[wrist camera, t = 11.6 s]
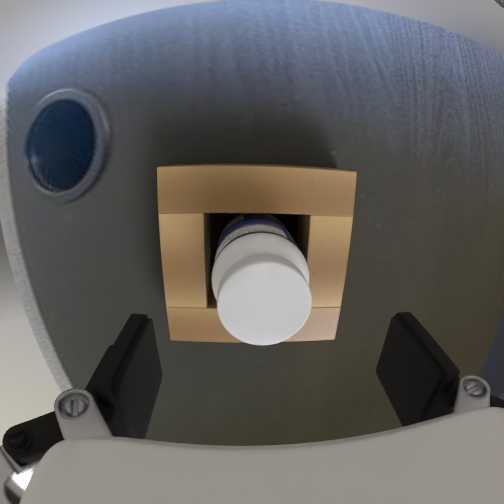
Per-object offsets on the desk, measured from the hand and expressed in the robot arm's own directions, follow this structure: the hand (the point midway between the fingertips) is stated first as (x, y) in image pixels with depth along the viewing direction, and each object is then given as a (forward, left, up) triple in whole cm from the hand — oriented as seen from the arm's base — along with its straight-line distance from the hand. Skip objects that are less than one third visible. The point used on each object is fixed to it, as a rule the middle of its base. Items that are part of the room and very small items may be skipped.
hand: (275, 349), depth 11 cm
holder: (0, 0, -14) cm, 14 cm away
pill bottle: (0, 0, -14) cm, 14 cm away
